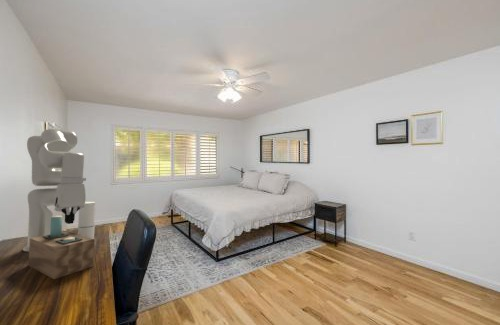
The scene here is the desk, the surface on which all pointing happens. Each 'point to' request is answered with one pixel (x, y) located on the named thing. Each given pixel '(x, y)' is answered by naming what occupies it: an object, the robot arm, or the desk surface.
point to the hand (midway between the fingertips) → (69, 223)
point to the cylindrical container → (87, 220)
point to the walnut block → (61, 254)
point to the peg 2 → (68, 239)
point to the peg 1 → (56, 226)
